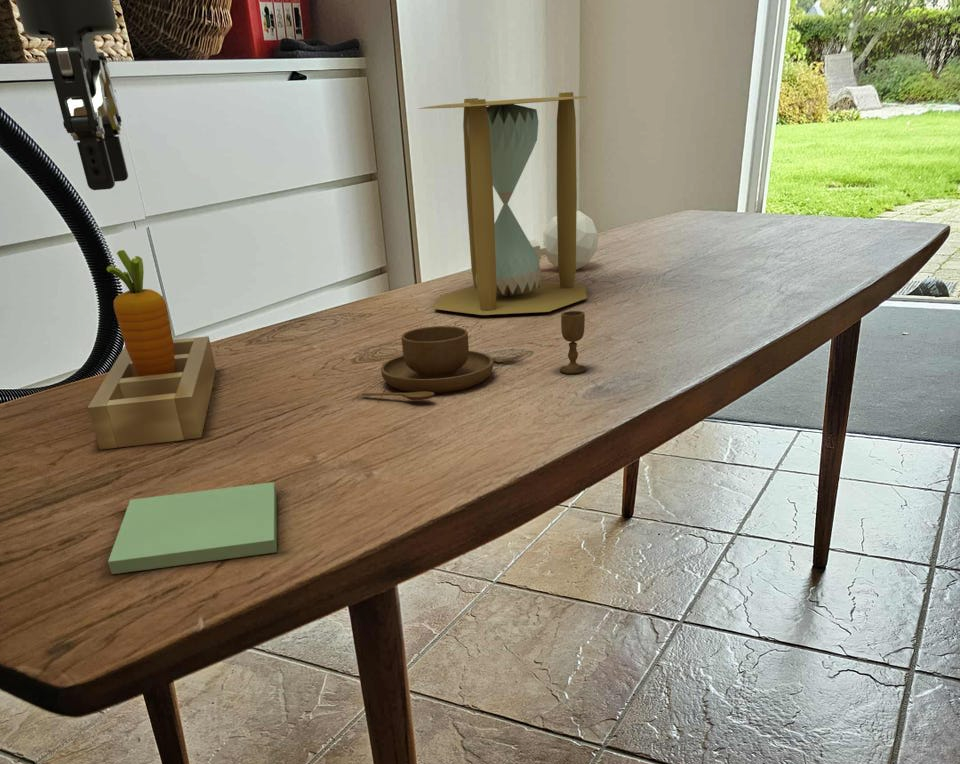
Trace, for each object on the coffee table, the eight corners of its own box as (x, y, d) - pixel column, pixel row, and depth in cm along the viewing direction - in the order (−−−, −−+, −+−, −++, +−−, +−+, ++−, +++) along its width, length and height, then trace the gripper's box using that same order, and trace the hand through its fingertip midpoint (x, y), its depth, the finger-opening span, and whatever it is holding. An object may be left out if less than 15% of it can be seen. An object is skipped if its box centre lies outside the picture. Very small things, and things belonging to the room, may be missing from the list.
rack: (99, 450, 83) (87, 407, 80) (134, 380, 103) (125, 344, 101) (201, 438, 84) (192, 395, 82) (216, 371, 104) (208, 336, 102)
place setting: (430, 355, 105) (425, 302, 102) (591, 366, 97) (592, 309, 94) (347, 398, 92) (339, 339, 89) (526, 416, 84) (525, 352, 81)
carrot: (186, 410, 92) (149, 252, 84) (136, 415, 91) (94, 257, 83) (191, 396, 96) (156, 245, 88) (143, 401, 95) (104, 249, 87)
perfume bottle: (593, 249, 151) (523, 264, 151) (590, 194, 144) (517, 210, 144) (605, 274, 145) (532, 290, 146) (603, 219, 138) (527, 235, 139)
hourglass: (469, 283, 142) (458, 98, 129) (608, 284, 134) (611, 89, 121) (406, 316, 123) (385, 105, 110) (562, 321, 116) (560, 94, 103)
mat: (111, 574, 60) (107, 561, 60) (133, 511, 70) (129, 499, 69) (276, 552, 62) (274, 539, 61) (276, 493, 71) (274, 481, 70)
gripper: (28, -22, 79) (82, 182, 88) (-16, -43, 67) (51, 196, 76) (115, -27, 80) (160, 176, 89) (87, -48, 68) (142, 188, 77)
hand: (110, 185), depth 82 cm, fingers open, 8 cm apart
